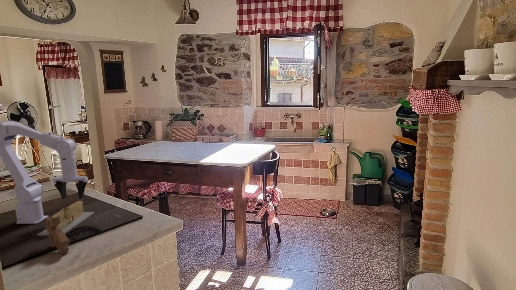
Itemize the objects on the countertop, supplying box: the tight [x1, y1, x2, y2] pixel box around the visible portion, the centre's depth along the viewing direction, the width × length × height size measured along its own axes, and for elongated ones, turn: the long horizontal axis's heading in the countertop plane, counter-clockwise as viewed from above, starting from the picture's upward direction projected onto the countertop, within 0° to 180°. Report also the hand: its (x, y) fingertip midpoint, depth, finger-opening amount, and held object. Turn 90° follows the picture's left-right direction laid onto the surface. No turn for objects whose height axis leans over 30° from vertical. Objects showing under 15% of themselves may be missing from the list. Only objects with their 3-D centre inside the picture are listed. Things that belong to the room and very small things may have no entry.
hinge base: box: [52, 211, 72, 229], centre depth 143 cm, size 11×3×6 cm, turn 176°
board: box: [37, 211, 95, 237], centre depth 148 cm, size 24×10×1 cm, turn 176°
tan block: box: [60, 200, 85, 221], centre depth 151 cm, size 12×4×6 cm, turn 176°
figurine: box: [45, 215, 70, 256], centre depth 123 cm, size 13×2×15 cm
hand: (73, 198), depth 152 cm, fingers open, 7 cm apart
